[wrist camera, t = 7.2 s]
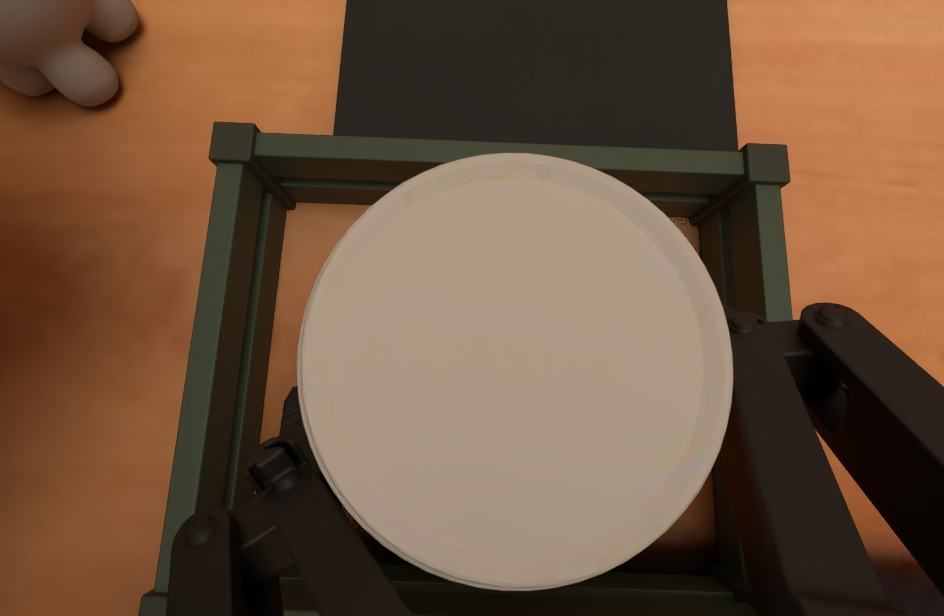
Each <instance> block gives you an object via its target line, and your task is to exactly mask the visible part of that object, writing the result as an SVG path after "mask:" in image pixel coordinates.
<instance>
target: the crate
mask: <svg viewBox="0 0 944 616" xmlns="http://www.w3.org/2000/svg"><path fill="white" fill-rule="evenodd" d="M497 153H530V154H538V155H546V156H552V157H556V158H561V159H566V160H570V161H574V162H576V163H579V164H582V165H585V166H588V167H591V168H594V169H596V170H598V171H601V172H603V173H605V174H607V175H610V176H612V177H614V178H615V179H617V180H619V181H620V182H622V183H624V184H626V185H627V186H629V187H631V188H632V189H634V190H635V191H637V192H638V193H639V194H641V195H642V196H644V197H645V198H646V199H648V200H649V201H650V202H651V203H653V204H654V205H655V206H656V207H657V208H658V209H659V210H661V211H662V212H663V213H664V214H665V215H666V216H672V217H691V225H699V227H700V245H701V261H702V262H703V264H704V265H705V267H706V269H707V271H708V273H709V275H710V277H711V279H712V281H713V283H714V285H715V288H716V290H717V293H718V296H719V298H720V301H722V302H723V303H724V304H725V305H727V306H728V307H729V308H730V309H732V310H733V311H748V312H751V313H755V314H758V315H760V316H762V317H763V318H765V319H766V320H767V321H768V322H779V321H791V320H793V318H792V308H791V297H790V286H789V275H788V265H787V254H786V243H785V233H784V222H783V211H782V200H781V190H780V189H781V188H782V187H784V186H785V185H787V184H788V183H790V172H789V162H788V152H787V145H779V144H755V143H747V144H746V145H745V146H743V147H742V148H741V149H740V150H739V151H738V152H729V151H704V150H679V149H655V148H630V147H605V146H580V145H555V144H530V143H506V142H481V141H456V140H431V139H406V138H381V137H356V136H332V135H307V134H282V133H261V131H260V130H259V129H258V127H257V126H256V125H255V124H254V123H234V122H214V125H213V132H212V138H211V145H210V151H209V160H210V161H211V162H212V163H213V164H215V165H216V166H217V172H216V178H215V185H214V192H213V199H212V205H211V212H210V219H209V225H208V232H207V239H206V246H205V252H204V259H203V266H202V272H201V279H200V286H199V293H198V299H197V306H196V313H195V319H194V326H193V333H192V339H191V346H190V353H189V360H188V366H187V373H186V380H185V386H184V393H183V400H182V407H181V413H180V420H179V427H178V433H177V440H176V447H175V454H174V460H173V467H172V474H171V480H170V487H169V494H168V500H167V507H166V514H165V521H164V527H163V534H162V541H161V547H160V554H159V561H158V568H157V574H156V581H155V588H154V589H153V590H151V591H149V592H148V593H146V594H144V595H143V596H142V598H141V602H140V609H139V616H166V606H167V594H168V582H169V571H170V559H171V547H172V543H173V540H174V536H175V534H176V533H177V531H178V530H179V528H180V527H181V525H182V524H183V523H184V522H185V521H186V520H187V519H188V518H189V517H190V516H191V515H193V514H194V513H196V512H197V511H199V510H201V509H203V508H206V507H208V506H211V505H221V506H222V507H224V508H225V509H227V510H228V511H229V510H231V509H233V508H234V507H236V506H238V505H239V504H241V503H242V502H244V501H246V500H247V499H249V498H250V497H252V496H253V487H252V485H251V484H250V483H249V482H248V481H247V479H246V478H245V477H244V473H243V467H244V464H245V461H246V459H247V458H248V457H249V455H250V454H251V452H252V451H253V450H254V449H256V448H257V447H258V445H259V437H260V428H261V420H262V411H263V402H264V394H265V385H266V377H267V368H268V360H269V351H270V343H271V334H272V326H273V317H274V309H275V300H276V292H277V283H278V274H279V266H280V257H281V249H282V240H283V232H284V223H285V215H286V209H295V202H316V203H341V204H367V205H373V204H374V203H376V202H377V201H378V200H379V199H381V198H382V197H383V196H385V195H386V194H387V193H389V192H390V191H392V190H393V189H394V188H396V187H397V186H399V185H400V184H401V183H403V182H405V181H407V180H409V179H411V178H413V177H415V176H417V175H419V174H421V173H423V172H425V171H427V170H430V169H432V168H434V167H437V166H439V165H441V164H445V163H449V162H452V161H456V160H459V159H463V158H468V157H473V156H478V155H483V154H497ZM713 470H714V487H715V504H716V522H717V539H718V556H719V565H710V575H686V574H657V573H628V572H605V573H603V574H600V575H597V576H594V577H592V578H589V579H586V580H584V581H581V582H578V583H573V584H569V585H565V586H561V587H557V588H550V589H541V590H532V591H502V590H494V589H486V588H478V587H473V586H469V585H465V584H462V583H458V582H454V581H450V580H447V579H445V578H442V577H440V576H437V575H434V574H432V573H429V572H427V571H425V570H423V569H421V568H419V567H417V566H415V565H396V564H379V566H380V567H381V569H382V570H383V572H384V573H385V575H386V576H387V578H388V579H389V581H390V582H391V584H392V585H393V587H394V588H395V590H396V591H397V593H398V594H399V596H400V597H401V599H402V600H403V602H404V603H405V605H406V606H407V608H408V609H409V611H410V612H411V614H412V615H413V616H757V613H756V609H755V604H754V600H753V595H752V591H751V586H750V582H749V577H748V573H747V568H746V564H745V559H744V554H743V550H742V545H741V541H740V536H739V532H738V527H737V523H736V518H735V514H734V509H733V505H732V500H731V496H730V491H729V487H728V482H727V478H726V473H725V469H724V464H723V459H722V455H721V450H720V451H719V454H718V456H717V458H716V460H715V462H714V464H713ZM279 579H280V587H281V596H282V604H283V613H284V616H320V615H319V613H318V611H317V609H316V607H315V605H314V603H313V601H312V599H311V597H310V595H309V593H308V591H307V589H306V587H305V585H304V583H303V581H302V579H301V577H300V575H299V573H298V571H297V569H296V567H295V565H294V563H293V564H291V565H290V566H288V567H287V568H286V569H284V570H283V571H281V572H280V573H279Z"/></svg>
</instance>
